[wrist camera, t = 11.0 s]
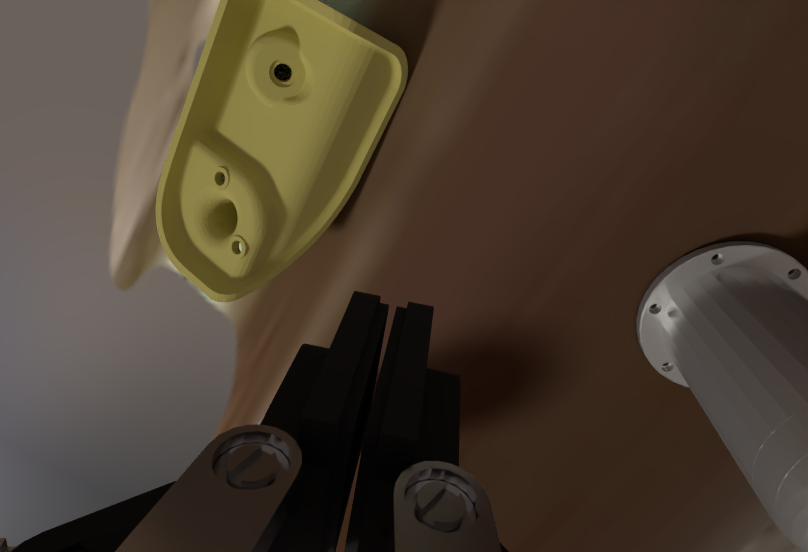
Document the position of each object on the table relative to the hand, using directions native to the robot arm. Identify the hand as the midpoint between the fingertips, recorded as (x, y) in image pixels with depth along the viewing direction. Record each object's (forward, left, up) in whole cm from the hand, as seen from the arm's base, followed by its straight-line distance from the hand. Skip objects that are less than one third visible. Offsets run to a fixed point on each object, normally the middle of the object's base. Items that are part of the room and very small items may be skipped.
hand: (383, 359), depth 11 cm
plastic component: (+12, +3, -30) cm, 32 cm away
